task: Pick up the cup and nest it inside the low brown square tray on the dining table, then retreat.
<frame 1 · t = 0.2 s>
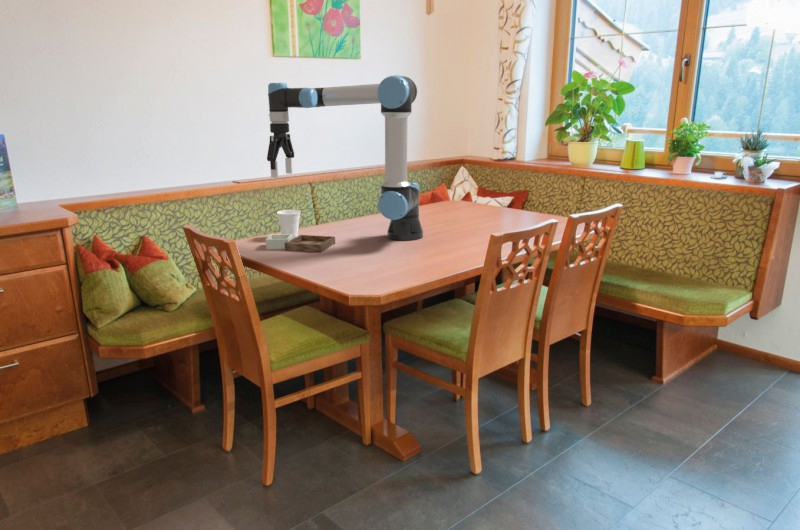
hand: (282, 175, 250), 26 cm above the table, fingers open, 13 cm apart
cup: (290, 237, 256), on the table
small crate: (279, 246, 241), on the table
brown square tray: (310, 246, 240), on the table
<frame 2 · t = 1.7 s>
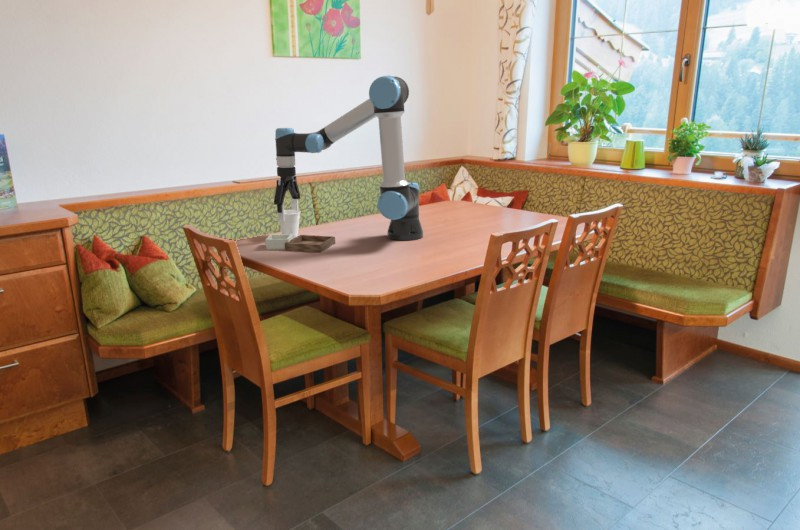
hand: (288, 217, 254), 9 cm above the table, fingers open, 13 cm apart
nothing on the table moved.
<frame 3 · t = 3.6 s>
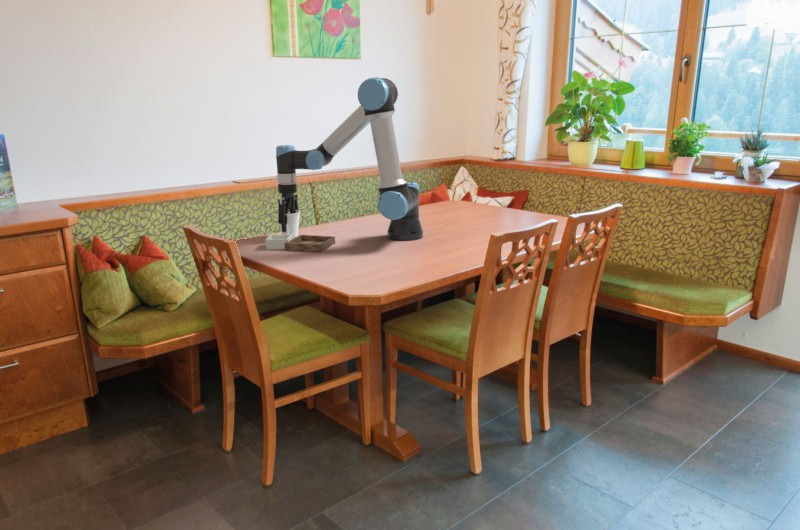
hand: (290, 236, 256), 0 cm above the table, fingers closed on cup, 8 cm apart
cup: (290, 237, 256), on the table, touching gripper
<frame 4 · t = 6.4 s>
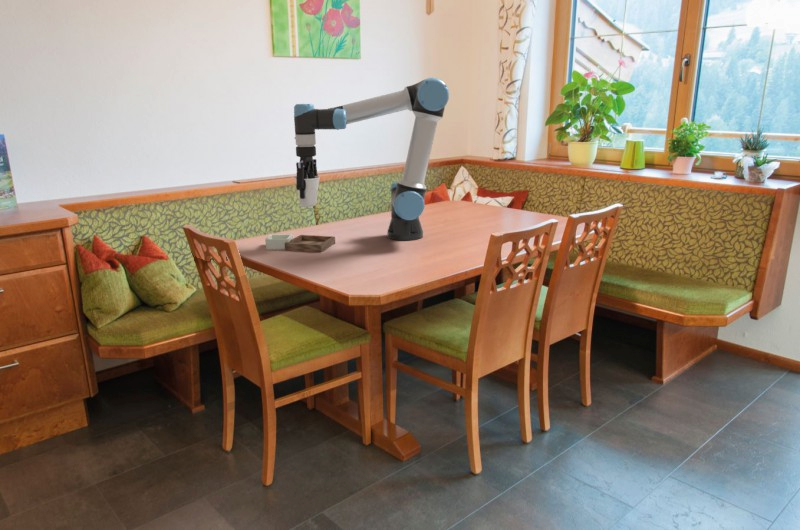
hand: (308, 204, 236), 17 cm above the table, fingers closed on cup, 8 cm apart
cup: (308, 206, 236), point 16 cm above the table, touching gripper
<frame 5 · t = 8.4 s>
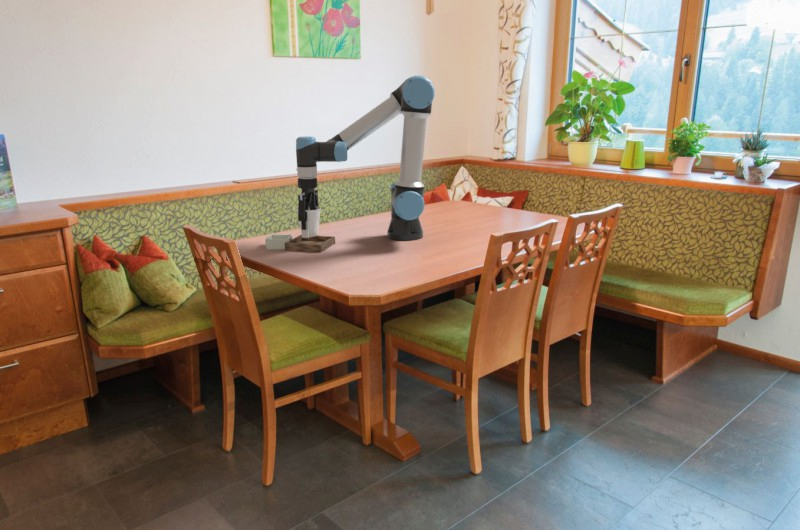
hand: (310, 235, 239), 5 cm above the table, fingers closed on cup, 8 cm apart
cup: (309, 236, 239), point 4 cm above the table, touching gripper
when the fingers open (4 cm above the table, at t = 9.6 s): cup drops 2 cm, resting on brown square tray.
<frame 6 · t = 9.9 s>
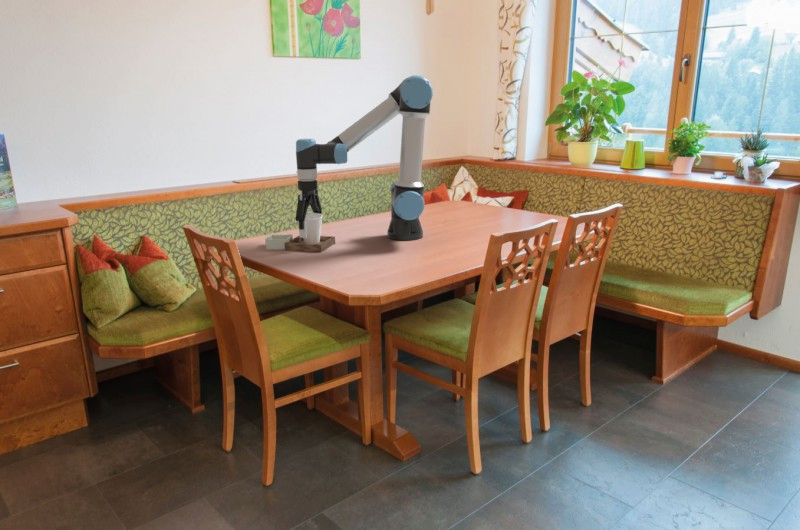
hand: (310, 233, 239), 5 cm above the table, fingers open, 13 cm apart
cup: (312, 243, 242), point 1 cm above the table, touching brown square tray, gripper
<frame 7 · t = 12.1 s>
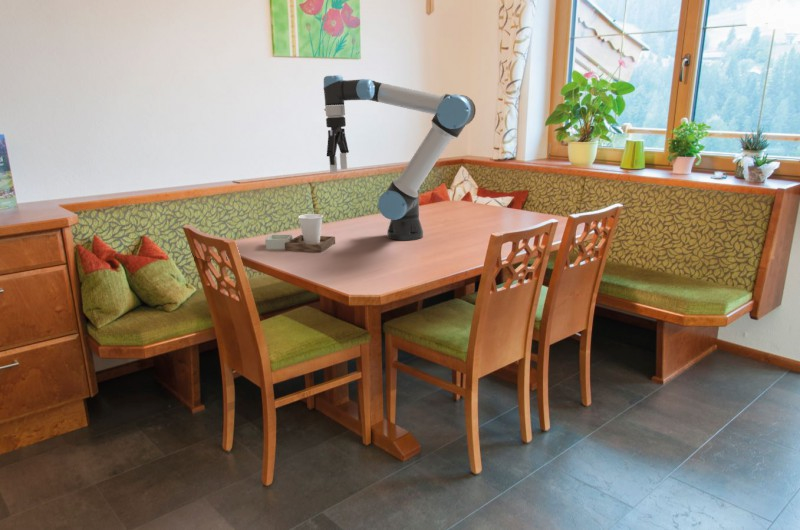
hand: (339, 171, 243), 28 cm above the table, fingers open, 13 cm apart
cup: (312, 243, 243), point 1 cm above the table, touching brown square tray
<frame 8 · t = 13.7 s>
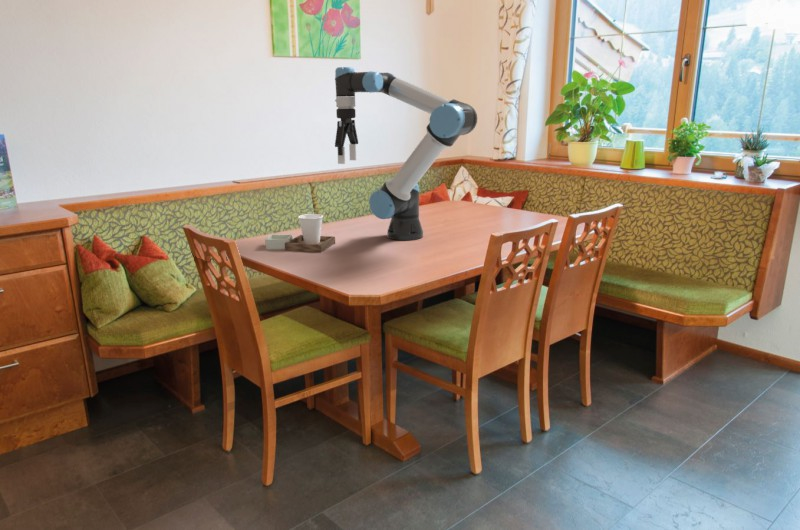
hand: (347, 162, 246), 32 cm above the table, fingers open, 13 cm apart
nothing on the table moved.
at the end: cup 2.4 cm off-centre on the brown square tray, point 0.6 cm above the brown square tray's base; cup tilted 0°; the gripper is holding nothing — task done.
